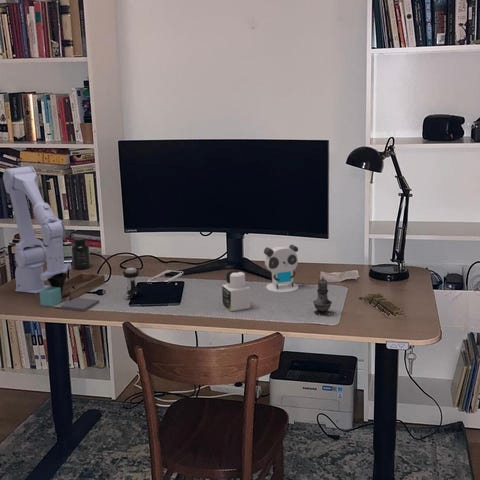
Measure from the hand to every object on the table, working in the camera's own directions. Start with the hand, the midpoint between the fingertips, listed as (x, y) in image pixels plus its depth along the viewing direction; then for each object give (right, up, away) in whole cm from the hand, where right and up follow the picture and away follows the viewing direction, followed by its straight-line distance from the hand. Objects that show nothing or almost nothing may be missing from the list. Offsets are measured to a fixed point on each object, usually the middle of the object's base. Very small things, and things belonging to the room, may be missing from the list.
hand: (58, 294), depth 228 cm
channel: (+4, +1, +10) cm, 11 cm away
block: (-1, -3, -4) cm, 5 cm away
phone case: (+34, +4, +23) cm, 41 cm away
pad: (+9, -3, -7) cm, 12 cm away
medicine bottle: (+61, -3, -10) cm, 62 cm away
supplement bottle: (-1, +8, +39) cm, 40 cm away
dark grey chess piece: (+88, -4, -17) cm, 90 cm away
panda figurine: (+77, +2, +9) cm, 78 cm away
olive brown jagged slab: (+108, -4, -12) cm, 109 cm away
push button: (+25, -1, +1) cm, 25 cm away
